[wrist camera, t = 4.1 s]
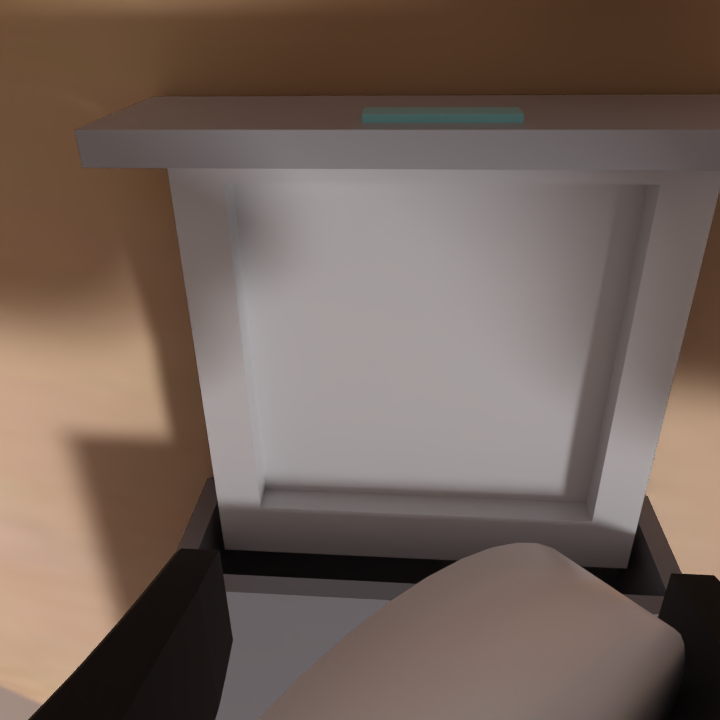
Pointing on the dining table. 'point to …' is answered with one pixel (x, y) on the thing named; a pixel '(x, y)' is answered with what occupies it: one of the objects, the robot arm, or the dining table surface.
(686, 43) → the dining table surface
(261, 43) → the dining table surface
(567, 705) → the disc
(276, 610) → the block
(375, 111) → the grey shallow open box
